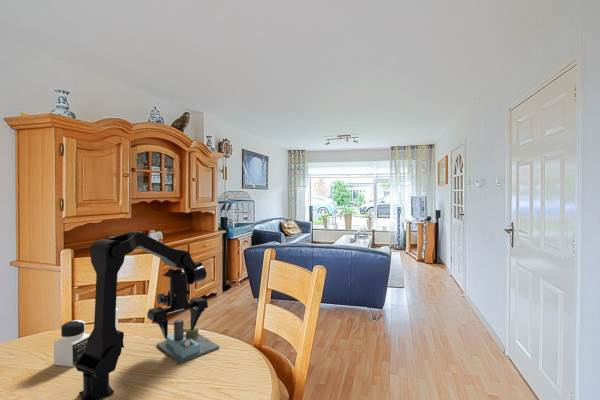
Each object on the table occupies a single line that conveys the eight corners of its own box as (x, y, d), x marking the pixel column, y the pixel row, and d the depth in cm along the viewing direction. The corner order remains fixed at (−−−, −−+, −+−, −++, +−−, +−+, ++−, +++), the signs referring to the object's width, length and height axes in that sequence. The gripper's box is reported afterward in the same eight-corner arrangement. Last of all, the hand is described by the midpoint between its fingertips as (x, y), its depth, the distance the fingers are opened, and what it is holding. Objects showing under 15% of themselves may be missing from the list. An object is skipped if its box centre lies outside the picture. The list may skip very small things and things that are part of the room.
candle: (93, 341, 115) (92, 299, 115) (110, 334, 121) (110, 294, 120) (104, 344, 112) (104, 301, 112) (122, 337, 118) (121, 296, 118)
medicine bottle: (73, 367, 97) (72, 327, 97) (53, 365, 99) (53, 326, 99) (92, 356, 104) (92, 319, 104) (74, 353, 106) (73, 317, 106)
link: (199, 351, 106) (199, 325, 105) (182, 358, 101) (182, 331, 101) (179, 338, 115) (179, 314, 115) (163, 344, 111) (162, 319, 111)
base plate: (219, 348, 110) (219, 333, 109) (179, 363, 99) (179, 348, 99) (194, 333, 121) (194, 320, 121) (156, 346, 111) (156, 332, 111)
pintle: (190, 354, 105) (190, 340, 105) (186, 355, 104) (185, 341, 104) (188, 352, 106) (188, 338, 106) (183, 354, 105) (183, 340, 105)
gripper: (193, 278, 121) (193, 319, 121) (140, 288, 108) (141, 335, 108) (208, 284, 113) (208, 328, 114) (154, 296, 100) (154, 346, 100)
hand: (179, 333), depth 109 cm, fingers open, 9 cm apart
